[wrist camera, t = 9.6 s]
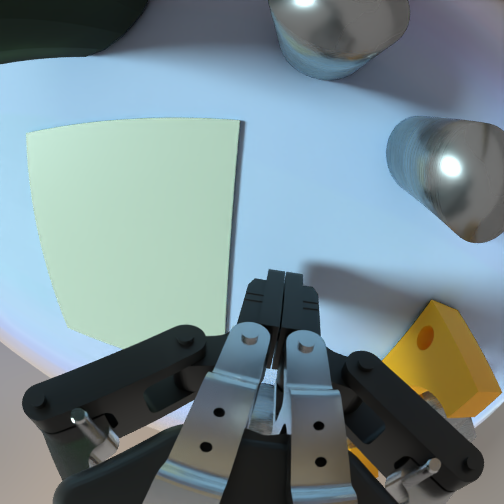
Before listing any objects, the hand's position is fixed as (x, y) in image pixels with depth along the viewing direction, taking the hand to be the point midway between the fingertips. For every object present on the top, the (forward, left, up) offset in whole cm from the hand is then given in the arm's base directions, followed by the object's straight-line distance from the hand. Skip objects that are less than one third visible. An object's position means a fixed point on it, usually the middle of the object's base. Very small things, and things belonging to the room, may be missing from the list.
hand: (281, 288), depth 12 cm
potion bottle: (-14, -11, -2) cm, 18 cm away
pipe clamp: (+7, +9, -1) cm, 11 cm away
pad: (+1, -10, -1) cm, 10 cm away
